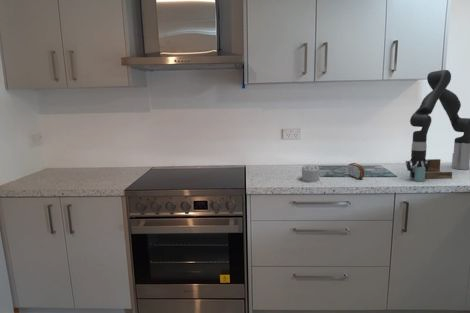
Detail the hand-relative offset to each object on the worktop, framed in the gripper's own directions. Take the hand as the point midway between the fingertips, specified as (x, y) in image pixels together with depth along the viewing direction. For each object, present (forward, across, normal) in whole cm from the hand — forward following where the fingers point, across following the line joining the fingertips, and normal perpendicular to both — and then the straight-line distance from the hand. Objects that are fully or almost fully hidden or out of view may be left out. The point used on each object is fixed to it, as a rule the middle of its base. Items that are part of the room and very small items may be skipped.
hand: (417, 177), depth 195 cm
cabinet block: (+1, 0, 0) cm, 1 cm away
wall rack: (+1, -14, -9) cm, 17 cm away
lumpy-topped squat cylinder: (+2, +61, -8) cm, 61 cm away
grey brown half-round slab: (+2, +32, -11) cm, 34 cm away
